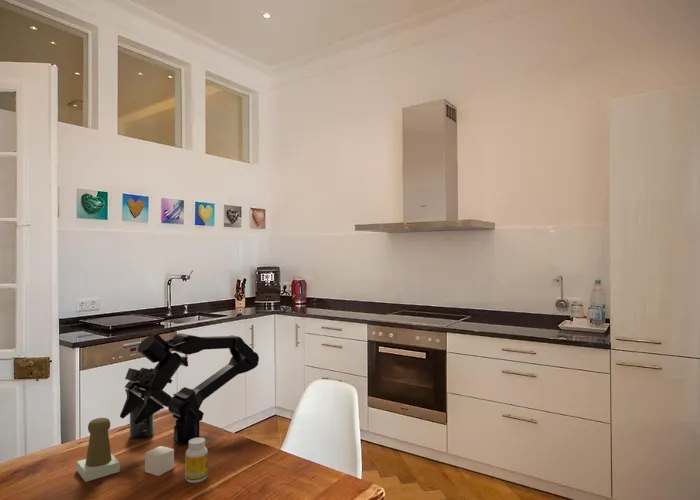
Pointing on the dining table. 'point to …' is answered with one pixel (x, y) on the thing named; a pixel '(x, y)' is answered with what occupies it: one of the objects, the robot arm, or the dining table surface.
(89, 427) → the cork
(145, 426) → the supplement bottle
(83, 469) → the base brick
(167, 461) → the brick
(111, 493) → the dining table surface
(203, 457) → the supplement bottle
